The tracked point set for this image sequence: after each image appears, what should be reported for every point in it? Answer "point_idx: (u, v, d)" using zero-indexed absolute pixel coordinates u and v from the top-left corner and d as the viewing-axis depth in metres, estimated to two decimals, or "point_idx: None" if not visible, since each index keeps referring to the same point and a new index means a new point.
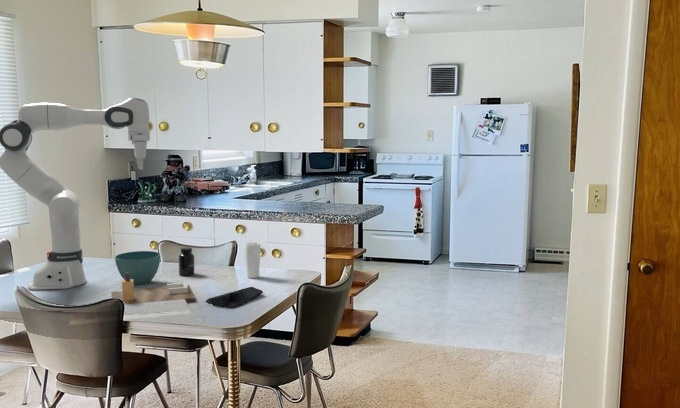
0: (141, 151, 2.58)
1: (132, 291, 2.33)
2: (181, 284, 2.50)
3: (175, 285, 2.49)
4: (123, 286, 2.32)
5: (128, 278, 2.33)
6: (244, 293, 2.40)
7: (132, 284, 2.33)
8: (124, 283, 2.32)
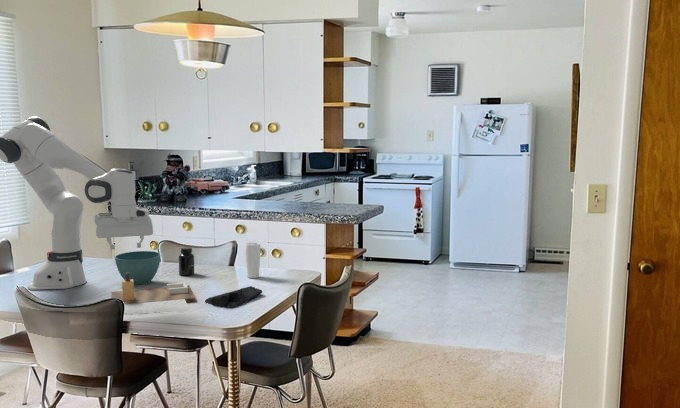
0: (152, 226, 2.36)
1: (132, 291, 2.33)
2: (181, 284, 2.50)
3: (175, 285, 2.49)
4: (123, 286, 2.32)
5: (128, 278, 2.33)
6: (243, 293, 2.40)
7: (132, 284, 2.33)
8: (124, 283, 2.32)
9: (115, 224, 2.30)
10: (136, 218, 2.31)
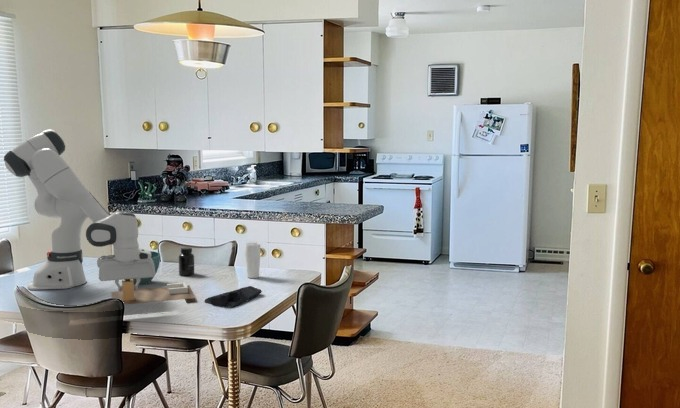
0: None
1: (132, 291, 2.33)
2: (181, 284, 2.50)
3: (175, 285, 2.49)
4: (123, 286, 2.32)
5: None
6: (243, 292, 2.40)
7: (132, 284, 2.33)
8: (124, 283, 2.32)
9: (118, 267, 2.31)
10: (139, 261, 2.32)
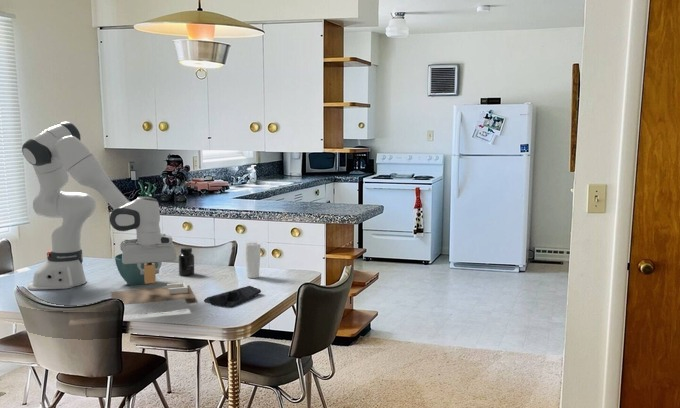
0: None
1: (154, 274, 2.40)
2: (181, 284, 2.50)
3: (175, 285, 2.49)
4: (145, 269, 2.39)
5: None
6: (242, 292, 2.41)
7: (154, 267, 2.40)
8: (146, 266, 2.39)
9: (140, 251, 2.38)
10: (160, 245, 2.39)
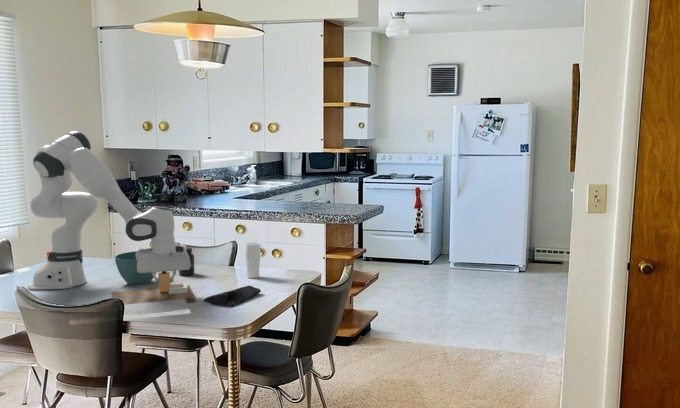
0: None
1: (168, 283, 2.43)
2: (181, 284, 2.50)
3: (175, 285, 2.49)
4: (160, 278, 2.42)
5: None
6: (242, 292, 2.41)
7: (168, 276, 2.43)
8: (161, 275, 2.42)
9: (155, 260, 2.41)
10: (175, 254, 2.42)
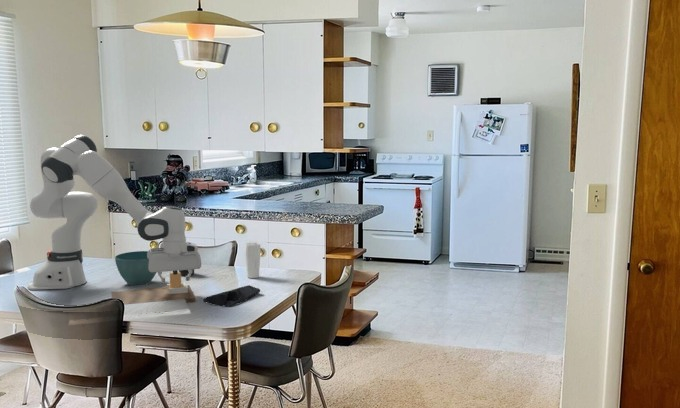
0: None
1: (179, 283, 2.45)
2: (181, 284, 2.50)
3: None
4: (171, 278, 2.44)
5: (176, 271, 2.45)
6: (242, 291, 2.42)
7: (180, 277, 2.45)
8: (172, 276, 2.43)
9: (166, 259, 2.43)
10: (186, 253, 2.44)
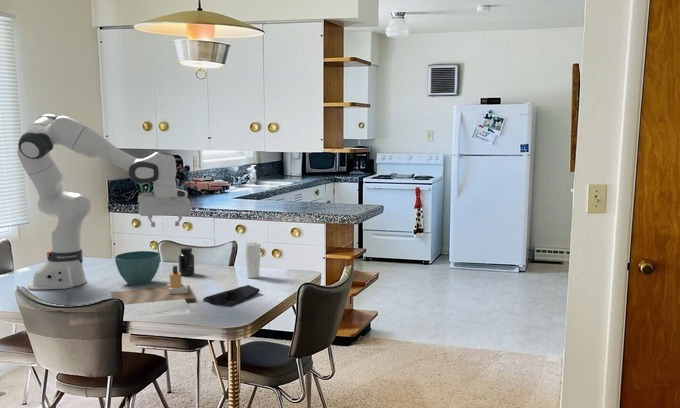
0: None
1: (179, 283, 2.45)
2: (181, 284, 2.50)
3: None
4: (171, 278, 2.44)
5: (176, 271, 2.45)
6: (241, 291, 2.42)
7: (180, 277, 2.45)
8: (172, 276, 2.43)
9: (157, 204, 2.48)
10: (177, 198, 2.49)
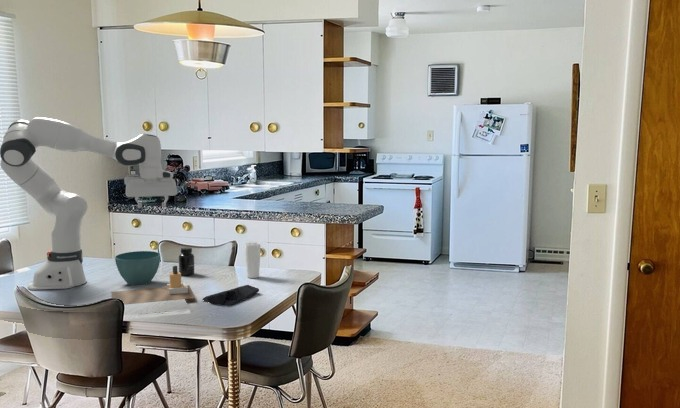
0: None
1: (179, 283, 2.45)
2: (181, 284, 2.50)
3: None
4: (171, 278, 2.44)
5: (176, 271, 2.45)
6: (240, 291, 2.42)
7: (180, 277, 2.45)
8: (172, 276, 2.43)
9: (143, 185, 2.52)
10: (162, 179, 2.54)
